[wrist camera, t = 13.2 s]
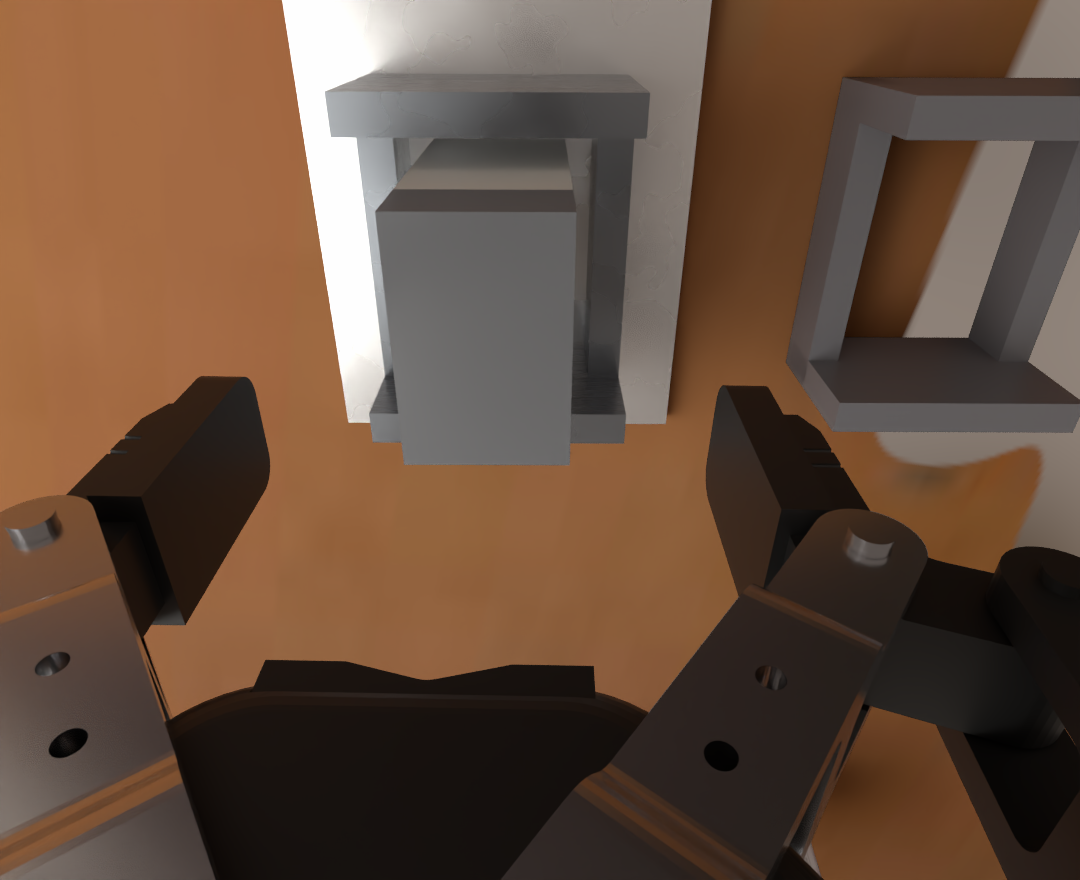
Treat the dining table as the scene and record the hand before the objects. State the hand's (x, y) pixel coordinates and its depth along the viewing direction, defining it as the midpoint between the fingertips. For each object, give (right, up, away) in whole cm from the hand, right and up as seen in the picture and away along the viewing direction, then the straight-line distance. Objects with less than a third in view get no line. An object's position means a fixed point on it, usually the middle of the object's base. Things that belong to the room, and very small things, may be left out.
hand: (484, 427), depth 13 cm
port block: (0, +7, +11) cm, 13 cm away
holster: (+14, +7, +11) cm, 19 cm away
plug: (0, +6, +11) cm, 13 cm away
